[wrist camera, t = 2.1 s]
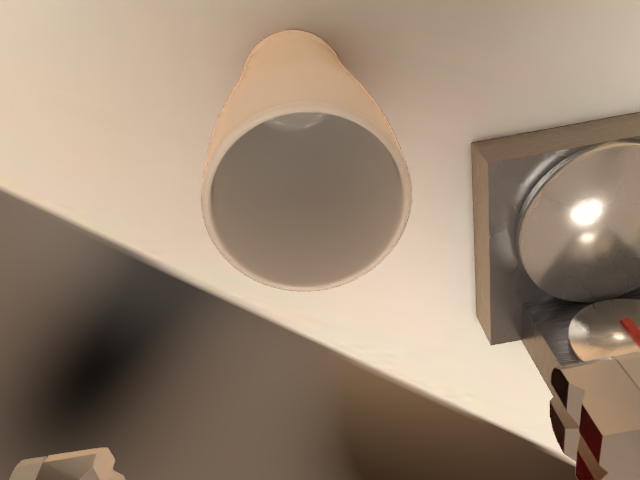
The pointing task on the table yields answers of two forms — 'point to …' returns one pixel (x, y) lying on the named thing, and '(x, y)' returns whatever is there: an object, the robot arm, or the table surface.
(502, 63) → the table surface
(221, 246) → the drinking glass
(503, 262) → the dial scale
